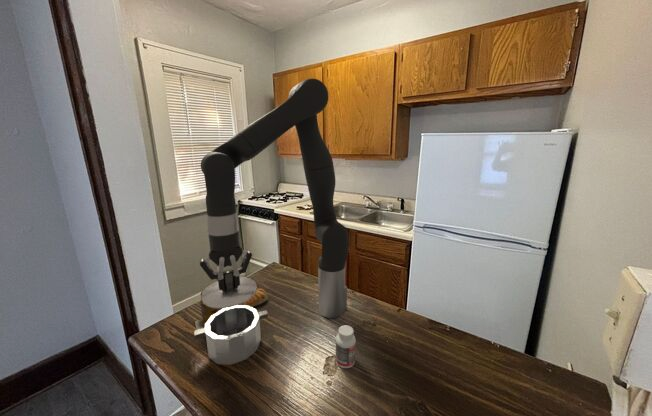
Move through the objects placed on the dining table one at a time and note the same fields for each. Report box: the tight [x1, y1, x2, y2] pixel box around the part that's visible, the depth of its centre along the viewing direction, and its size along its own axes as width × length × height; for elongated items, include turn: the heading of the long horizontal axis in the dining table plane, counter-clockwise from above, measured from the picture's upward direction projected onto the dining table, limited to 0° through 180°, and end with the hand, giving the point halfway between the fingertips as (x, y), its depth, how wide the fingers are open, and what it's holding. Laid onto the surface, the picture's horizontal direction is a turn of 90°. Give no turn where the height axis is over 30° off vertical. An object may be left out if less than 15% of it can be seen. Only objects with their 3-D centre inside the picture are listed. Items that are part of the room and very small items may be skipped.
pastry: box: [241, 288, 269, 308], centre depth 94 cm, size 9×7×4 cm
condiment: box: [194, 288, 223, 330], centre depth 81 cm, size 7×8×12 cm
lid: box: [200, 269, 258, 309], centre depth 70 cm, size 14×14×8 cm
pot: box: [193, 304, 269, 366], centre depth 73 cm, size 20×14×8 cm
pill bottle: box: [334, 324, 357, 369], centre depth 67 cm, size 5×5×10 cm
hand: (229, 288), depth 70 cm, fingers closed on lid, 3 cm apart
